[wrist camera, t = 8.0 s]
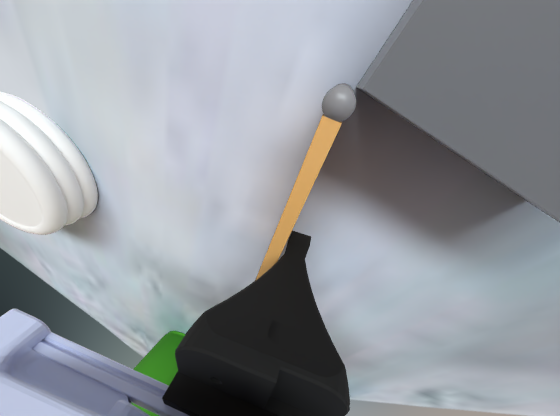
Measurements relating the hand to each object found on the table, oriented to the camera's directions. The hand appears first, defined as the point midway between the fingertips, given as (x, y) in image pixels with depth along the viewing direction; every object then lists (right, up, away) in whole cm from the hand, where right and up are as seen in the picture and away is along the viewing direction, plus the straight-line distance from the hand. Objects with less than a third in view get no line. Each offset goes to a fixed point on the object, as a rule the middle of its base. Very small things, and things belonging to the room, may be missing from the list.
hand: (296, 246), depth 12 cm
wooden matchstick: (0, +3, -1) cm, 3 cm away
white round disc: (-20, +6, +5) cm, 21 cm away
